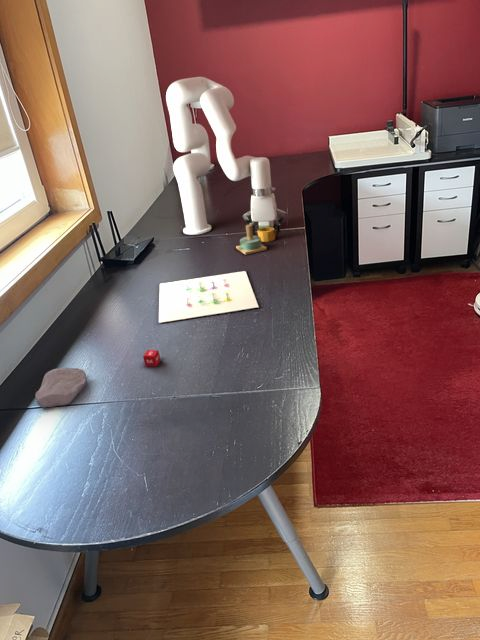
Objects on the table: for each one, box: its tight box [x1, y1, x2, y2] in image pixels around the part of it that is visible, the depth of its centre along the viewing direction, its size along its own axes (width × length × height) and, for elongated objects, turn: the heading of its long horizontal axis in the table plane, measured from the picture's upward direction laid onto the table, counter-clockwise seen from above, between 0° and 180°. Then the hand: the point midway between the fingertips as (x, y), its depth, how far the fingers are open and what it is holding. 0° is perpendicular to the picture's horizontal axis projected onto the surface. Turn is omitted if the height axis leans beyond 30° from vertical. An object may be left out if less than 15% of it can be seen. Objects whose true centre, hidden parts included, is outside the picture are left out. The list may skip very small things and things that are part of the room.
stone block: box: [35, 367, 87, 409], centre depth 121 cm, size 12×5×10 cm
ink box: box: [258, 221, 275, 229], centre depth 214 cm, size 9×5×12 cm, turn 168°
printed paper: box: [158, 270, 259, 324], centre depth 163 cm, size 30×30×2 cm
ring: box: [256, 226, 276, 243], centre depth 205 cm, size 7×7×4 cm
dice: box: [142, 349, 161, 367], centre depth 129 cm, size 3×3×3 cm
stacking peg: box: [235, 224, 268, 256], centre depth 195 cm, size 9×9×9 cm
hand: (265, 234), depth 205 cm, fingers open, 9 cm apart
